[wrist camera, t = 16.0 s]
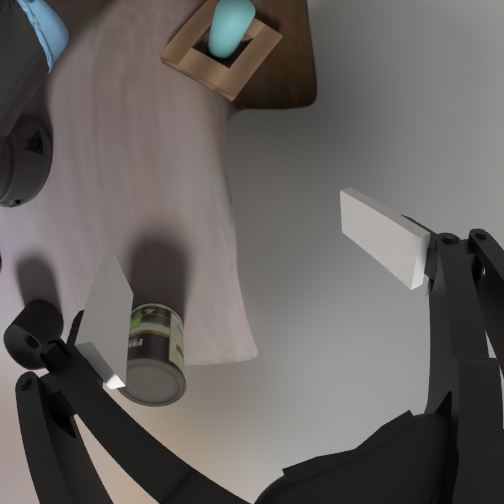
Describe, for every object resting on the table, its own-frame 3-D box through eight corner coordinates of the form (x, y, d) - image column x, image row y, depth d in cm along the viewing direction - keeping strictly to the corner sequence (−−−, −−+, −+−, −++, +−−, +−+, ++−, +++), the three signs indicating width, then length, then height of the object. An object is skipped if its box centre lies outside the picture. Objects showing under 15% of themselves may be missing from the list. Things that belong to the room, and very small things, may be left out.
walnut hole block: (162, 63, 33) (159, 55, 29) (209, 6, 31) (212, -5, 27) (231, 101, 37) (235, 97, 34) (275, 44, 35) (283, 36, 31)
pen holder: (26, 289, 40) (2, 318, 30) (68, 308, 43) (49, 342, 34) (24, 326, 42) (5, 357, 33) (63, 345, 45) (48, 379, 36)
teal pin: (200, 53, 33) (207, 13, 20) (216, 34, 32) (230, -10, 20) (223, 66, 35) (240, 32, 22) (239, 47, 34) (262, 8, 21)
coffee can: (116, 328, 46) (101, 384, 33) (149, 291, 45) (139, 345, 32) (160, 358, 50) (158, 415, 37) (195, 326, 49) (201, 383, 36)
